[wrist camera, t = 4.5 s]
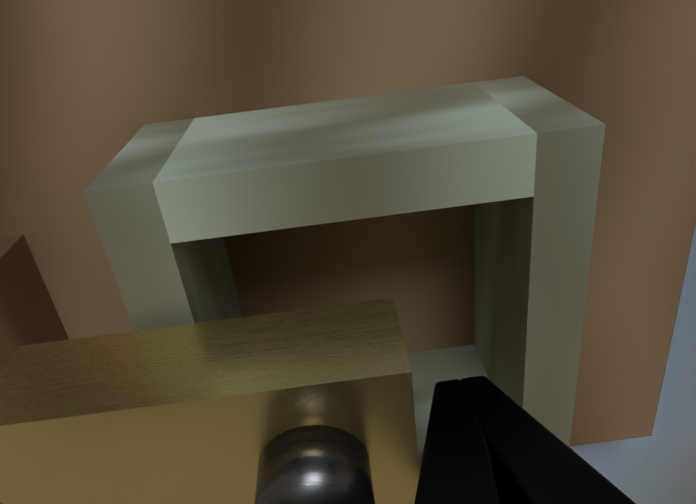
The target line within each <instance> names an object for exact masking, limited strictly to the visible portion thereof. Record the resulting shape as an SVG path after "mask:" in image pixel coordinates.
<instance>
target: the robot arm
mask: <svg viewBox="0 0 696 504" xmlns="http://www.w3.org/2000/svg"><path fill="white" fill-rule="evenodd" d="M414 504H636V503H634V502H633V501H632V500H631V499H630V498H628V497H627V496H626V495H625V494H624V493H623V492H621V491H620V490H619V489H618V488H617V487H615V486H614V485H613V484H612V483H611V482H610V481H608V480H607V479H606V478H605V477H604V476H602V475H601V474H600V473H599V472H598V471H597V470H595V469H594V468H593V467H592V466H591V465H589V464H588V463H587V462H586V461H585V460H584V459H582V458H581V457H580V456H579V455H578V454H577V453H575V452H574V451H573V450H572V449H571V448H569V447H568V446H567V445H566V444H565V443H564V442H562V441H561V440H560V439H559V438H558V437H556V436H555V435H554V434H553V433H552V432H551V431H549V430H548V429H547V428H546V427H545V426H543V425H542V424H541V423H540V422H539V421H538V420H536V419H535V418H534V417H533V416H532V415H530V414H529V413H528V412H527V411H526V410H525V409H523V408H522V407H521V406H520V405H519V404H517V403H516V402H515V401H514V400H513V399H512V398H510V397H509V396H508V395H507V394H506V393H504V392H503V391H502V390H501V389H500V388H499V387H497V386H496V385H495V384H494V383H493V382H491V381H490V380H489V379H488V378H487V377H485V376H475V377H467V378H462V379H461V380H459V379H453V380H445V381H439V382H437V383H436V384H435V387H434V392H433V398H432V404H431V410H430V415H429V421H428V427H427V433H426V439H425V444H424V450H423V456H422V462H421V468H420V473H419V479H418V485H417V491H416V496H415V502H414Z"/></svg>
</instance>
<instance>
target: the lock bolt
mask: <svg viewBox="0 0 696 504" xmlns="http://www.w3.org/2000/svg"><path fill="white" fill-rule="evenodd" d="M418 479H419V464H418V451H417V437H416V423H415V410H414V396H413V382H412V371H411V367H410V363H409V359H408V355H407V351H406V347H405V343H404V339H403V335H402V331H401V327H400V323H399V319H398V315H397V311H396V307H395V303H394V299H393V297H392V298H384V299H376V300H369V301H361V302H353V303H346V304H338V305H330V306H323V307H315V308H307V309H299V310H292V311H284V312H276V313H269V314H261V315H253V316H246V317H238V318H230V319H223V320H215V321H207V322H200V323H192V324H184V325H177V326H169V327H161V328H154V329H146V330H138V331H131V332H123V333H115V334H108V335H100V336H92V337H85V338H77V339H69V340H61V341H54V342H46V343H38V344H31V345H23V346H18V348H17V349H16V350H15V352H14V353H13V354H12V356H11V357H10V359H9V360H8V361H7V363H6V364H5V366H4V367H3V368H2V370H1V371H0V502H1V504H414V502H415V496H416V491H417V485H418Z"/></svg>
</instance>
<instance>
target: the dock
mask: <svg viewBox="0 0 696 504" xmlns="http://www.w3.org/2000/svg"><path fill="white" fill-rule="evenodd" d="M695 223H696V0H0V371H1V370H2V368H3V367H4V366H5V364H6V363H7V361H8V360H9V359H10V357H11V356H12V354H13V353H14V352H15V350H16V349H17V348H18V346H23V345H31V344H38V343H46V342H54V341H61V340H69V339H77V338H85V337H92V336H100V335H108V334H115V333H123V332H131V331H138V330H146V329H154V328H161V327H169V326H177V325H184V324H192V323H200V322H207V321H215V320H223V319H230V318H238V317H246V316H253V315H261V314H269V313H276V312H284V311H292V310H299V309H307V308H315V307H323V306H330V305H338V304H346V303H353V302H361V301H369V300H376V299H384V298H392V297H393V299H394V303H395V307H396V311H397V315H398V319H399V323H400V327H401V331H402V335H403V339H404V343H405V347H406V351H407V355H408V359H409V363H410V367H411V371H412V382H413V396H414V410H415V423H416V437H417V451H418V464H419V473H420V468H421V462H422V456H423V450H424V444H425V439H426V433H427V427H428V421H429V415H430V410H431V404H432V398H433V392H434V387H435V384H436V383H437V382H439V381H445V380H453V379H459V380H461V379H462V378H467V377H475V376H485V377H487V378H488V379H489V380H490V381H491V382H493V383H494V384H495V385H496V386H497V387H499V388H500V389H501V390H502V391H503V392H504V393H506V394H507V395H508V396H509V397H510V398H512V399H513V400H514V401H515V402H516V403H517V404H519V405H520V406H521V407H522V408H523V409H525V410H526V411H527V412H528V413H529V414H530V415H532V416H533V417H534V418H535V419H536V420H538V421H539V422H540V423H541V424H542V425H543V426H545V427H546V428H547V429H548V430H549V431H551V432H552V433H553V434H554V435H555V436H556V437H558V438H559V439H560V440H561V441H562V442H564V443H565V444H566V445H567V446H568V447H569V448H570V446H575V445H583V444H590V443H598V442H606V441H613V440H621V439H628V438H636V437H644V436H651V435H652V431H653V426H654V421H655V416H656V411H657V407H658V402H659V397H660V392H661V387H662V383H663V378H664V373H665V368H666V363H667V358H668V354H669V349H670V344H671V339H672V334H673V329H674V325H675V320H676V315H677V310H678V305H679V301H680V296H681V291H682V286H683V281H684V276H685V272H686V267H687V262H688V257H689V252H690V247H691V243H692V238H693V233H694V228H695ZM0 504H1V502H0Z"/></svg>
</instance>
